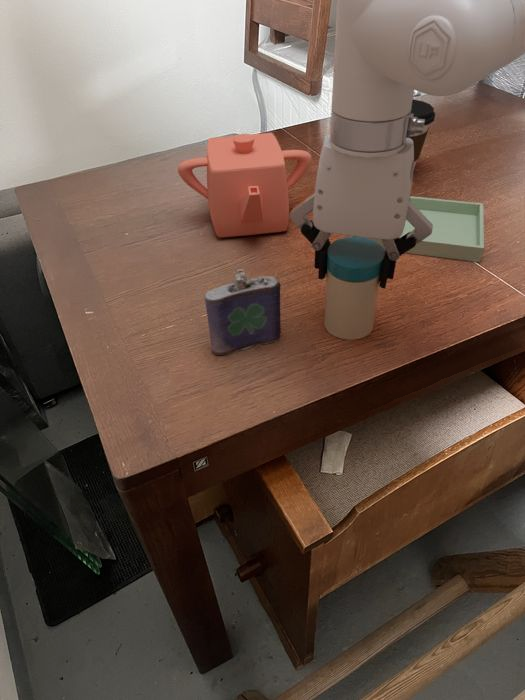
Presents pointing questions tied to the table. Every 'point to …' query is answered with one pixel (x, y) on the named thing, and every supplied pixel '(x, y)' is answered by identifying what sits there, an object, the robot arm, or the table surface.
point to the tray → (449, 229)
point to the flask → (243, 313)
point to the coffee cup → (427, 113)
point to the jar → (350, 307)
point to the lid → (355, 259)
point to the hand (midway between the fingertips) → (353, 276)
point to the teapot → (246, 183)
